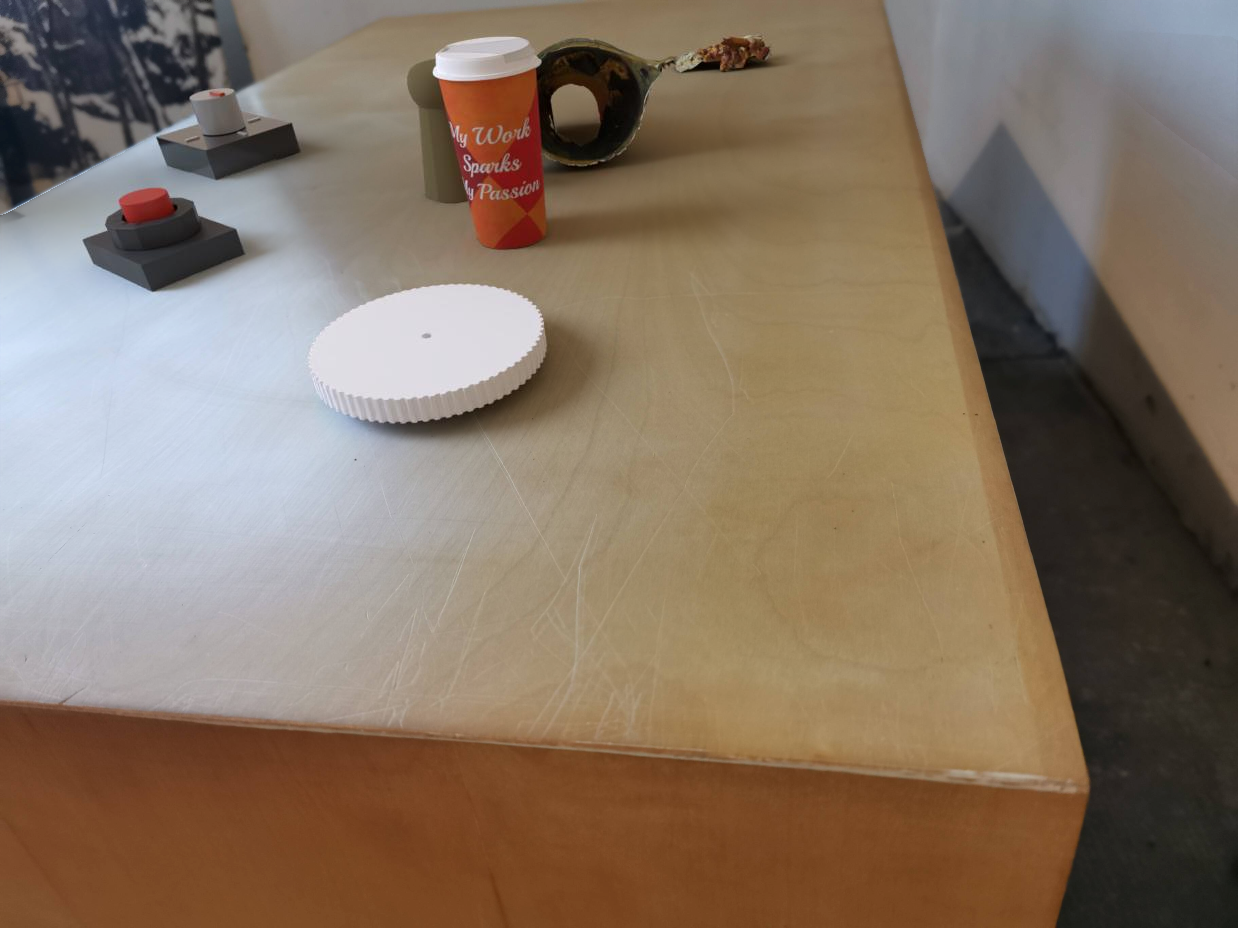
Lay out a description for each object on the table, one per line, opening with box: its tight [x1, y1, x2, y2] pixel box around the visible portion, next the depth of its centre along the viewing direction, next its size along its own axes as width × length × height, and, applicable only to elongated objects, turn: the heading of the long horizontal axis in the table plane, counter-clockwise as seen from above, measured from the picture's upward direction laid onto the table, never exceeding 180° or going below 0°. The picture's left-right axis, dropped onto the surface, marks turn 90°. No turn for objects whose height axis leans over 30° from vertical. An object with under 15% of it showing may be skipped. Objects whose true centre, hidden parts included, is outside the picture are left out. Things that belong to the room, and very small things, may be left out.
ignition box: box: [81, 197, 246, 293], centre depth 69 cm, size 10×8×4 cm
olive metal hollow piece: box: [536, 37, 679, 167], centre depth 84 cm, size 17×11×18 cm
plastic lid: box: [306, 283, 548, 424], centre depth 52 cm, size 14×14×2 cm
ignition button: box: [118, 187, 175, 223], centre depth 68 cm, size 4×4×2 cm
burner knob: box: [189, 87, 245, 135], centre depth 89 cm, size 4×4×4 cm
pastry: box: [674, 34, 773, 73], centre depth 108 cm, size 7×12×4 cm, turn 98°
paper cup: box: [433, 36, 547, 250], centre depth 65 cm, size 8×8×14 cm
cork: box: [406, 58, 468, 204], centre depth 76 cm, size 6×6×11 cm
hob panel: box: [155, 111, 301, 181], centre depth 91 cm, size 10×10×3 cm
